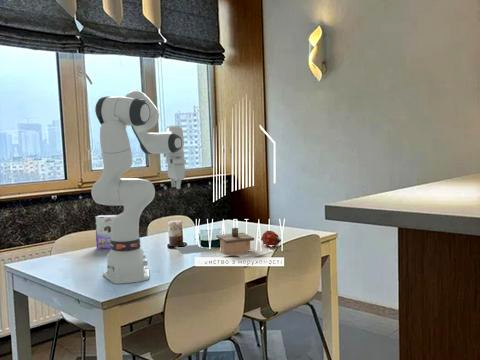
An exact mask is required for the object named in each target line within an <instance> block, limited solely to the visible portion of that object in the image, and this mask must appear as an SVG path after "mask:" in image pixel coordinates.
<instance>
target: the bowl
mask: <svg viewBox="0 0 480 360" xmlns="http://www.w3.org/2000/svg"><path fill="white" fill-rule="evenodd" d="M219 245H220V247H219V249H220V252H221V253H222V254H227V255H228V254H229V255H241V253H242V254H246V253H245V252H247V251H249V250H250V251H251V241H244V242H235V243H225V242H223V241H222V240H220V239H219ZM247 253H248V252H247Z"/></svg>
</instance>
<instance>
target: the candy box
mask: <svg viewBox="0 0 480 360" xmlns="http://www.w3.org/2000/svg"><path fill="white" fill-rule="evenodd" d="M117 215H118V214H106V215H105V214H104V215H103V214H100V215H99V214H98V215H97V216H94V222H95V238H96V242H95V243H96V250H100V249H101V250H107V249H108V250H111V248H110V240H111V221H112V219H113V218H114V217H115V216H117Z"/></svg>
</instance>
